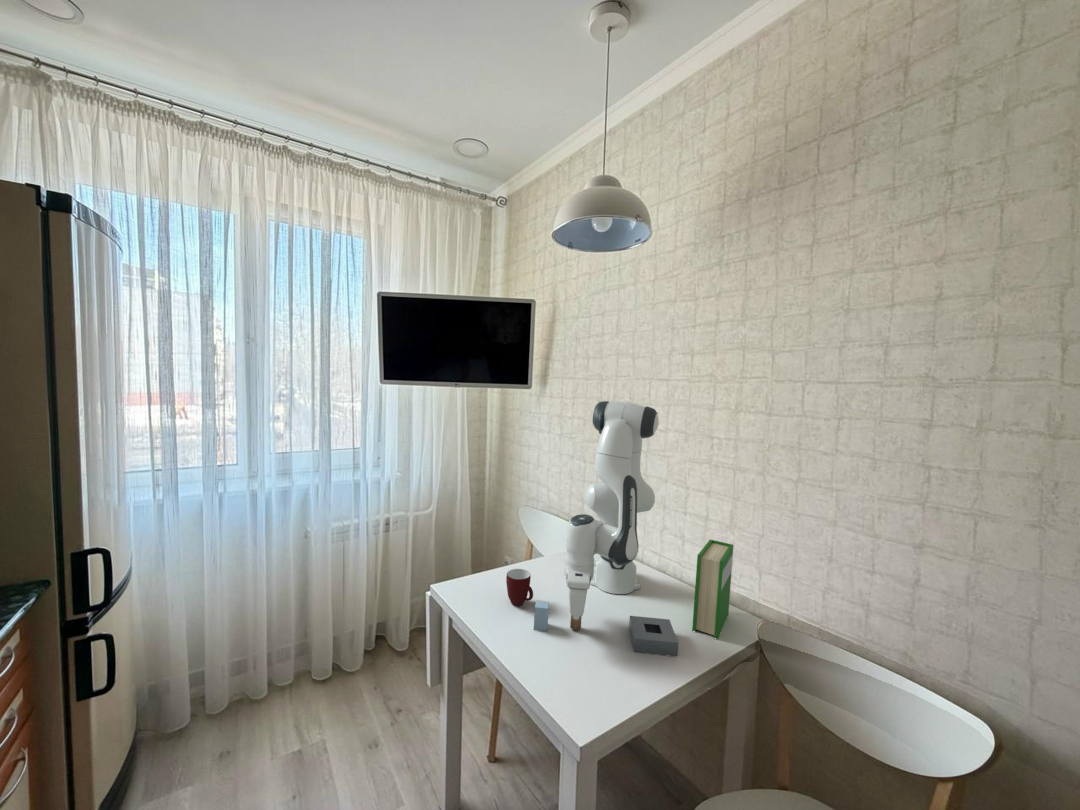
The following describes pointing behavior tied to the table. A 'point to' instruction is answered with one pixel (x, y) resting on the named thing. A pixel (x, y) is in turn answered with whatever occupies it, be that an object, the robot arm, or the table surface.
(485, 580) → the table surface
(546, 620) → the square peg
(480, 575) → the table surface
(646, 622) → the socket
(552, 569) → the table surface
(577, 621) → the round peg
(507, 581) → the mug
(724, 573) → the hardback book
